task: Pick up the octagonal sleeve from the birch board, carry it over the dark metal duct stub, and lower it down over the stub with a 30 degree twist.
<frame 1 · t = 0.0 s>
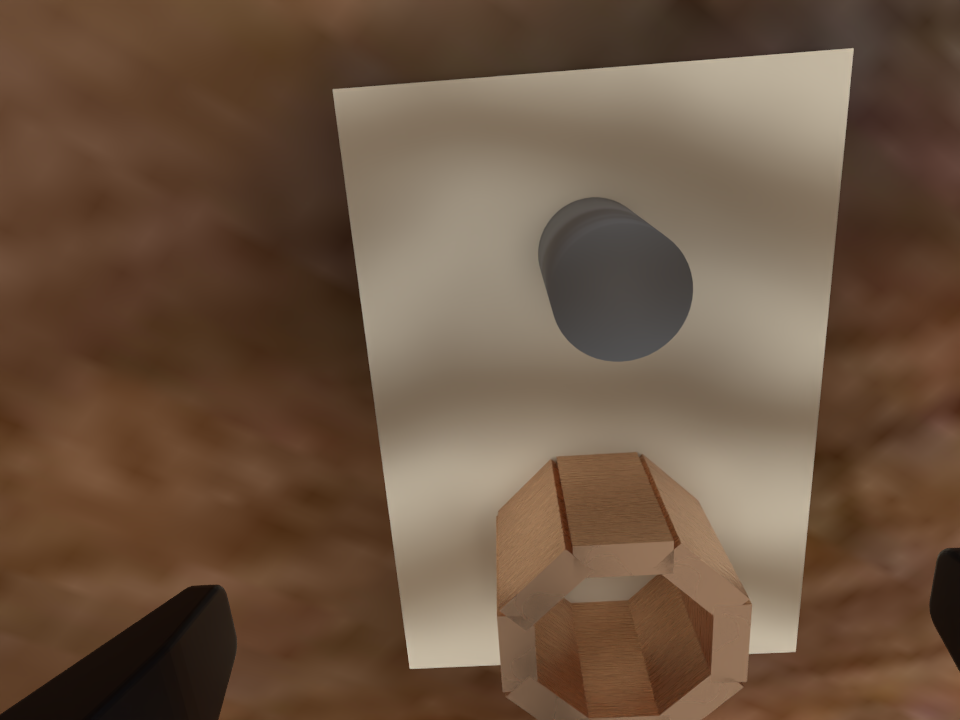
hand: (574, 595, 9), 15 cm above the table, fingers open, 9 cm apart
duct base: (589, 391, 24), on the table
sleeve: (598, 543, 24), point 1 cm above the table, touching duct base
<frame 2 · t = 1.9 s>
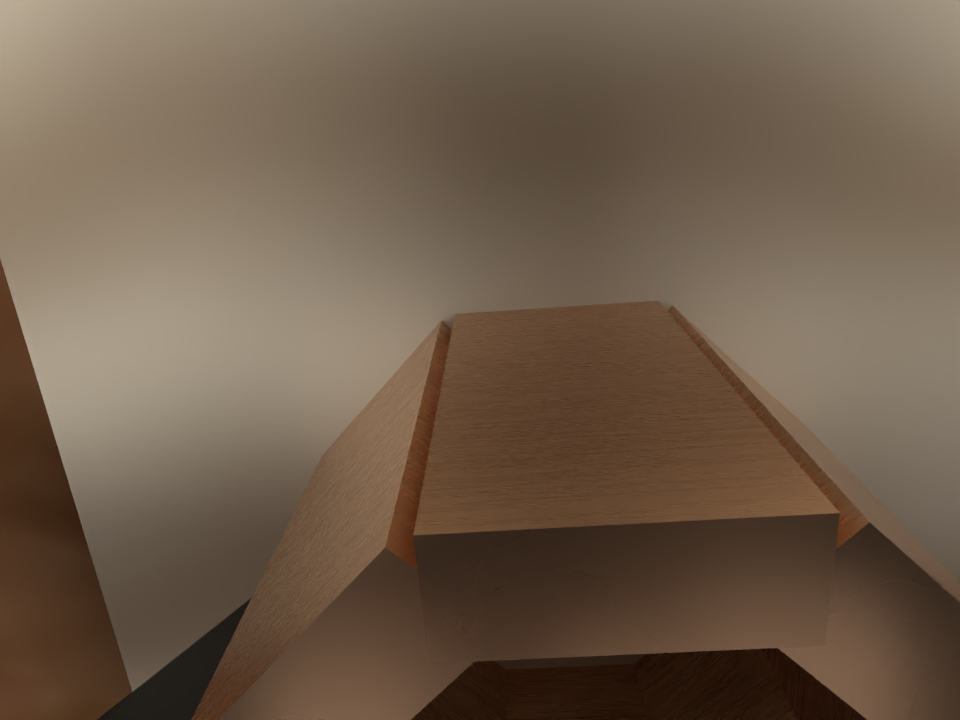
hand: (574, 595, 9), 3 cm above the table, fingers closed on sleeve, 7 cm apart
duct base: (542, 169, 10), on the table
sleeve: (564, 534, 10), point 1 cm above the table, touching duct base, gripper
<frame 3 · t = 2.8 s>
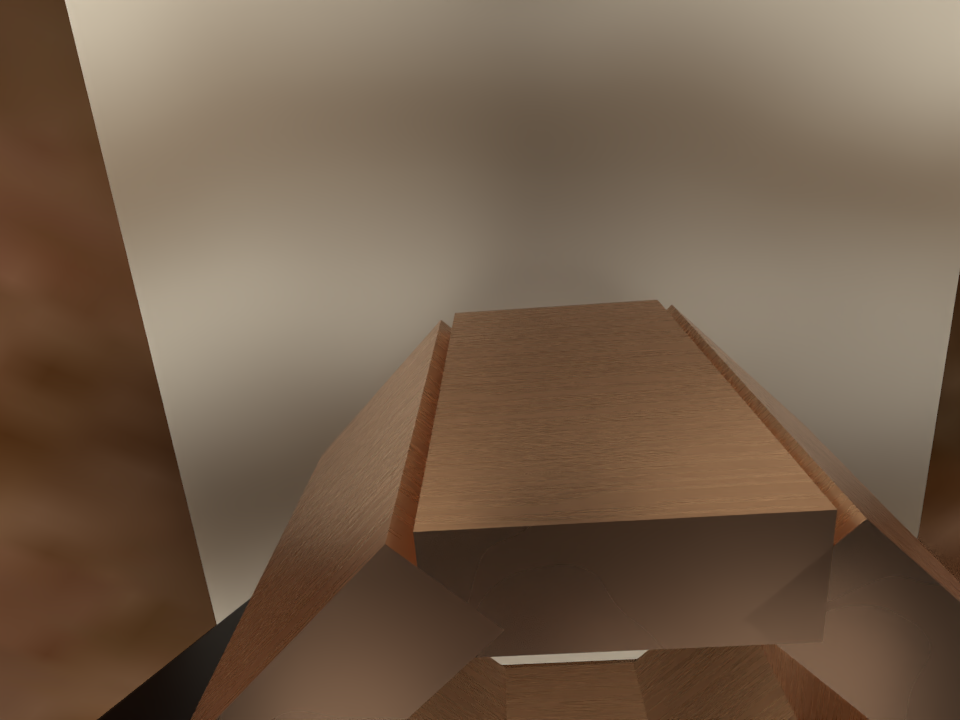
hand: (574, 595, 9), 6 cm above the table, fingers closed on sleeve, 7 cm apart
duct base: (531, 163, 13), on the table
sleeve: (564, 533, 10), point 5 cm above the table, touching gripper
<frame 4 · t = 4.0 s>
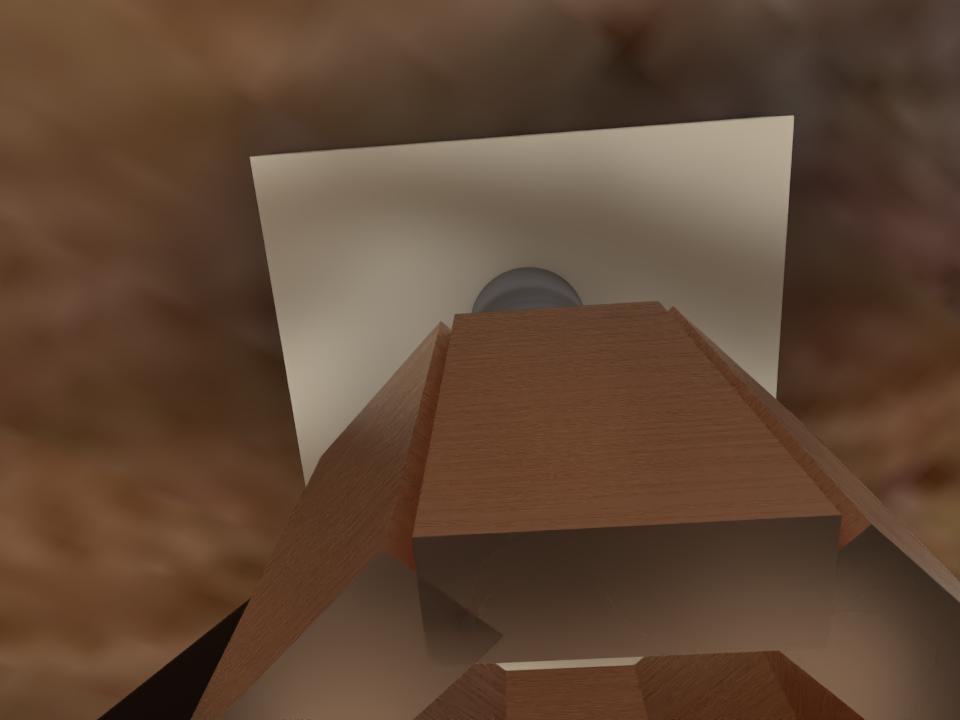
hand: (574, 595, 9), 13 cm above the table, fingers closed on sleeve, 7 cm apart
duct base: (533, 460, 23), on the table
sleeve: (564, 535, 10), point 12 cm above the table, touching gripper
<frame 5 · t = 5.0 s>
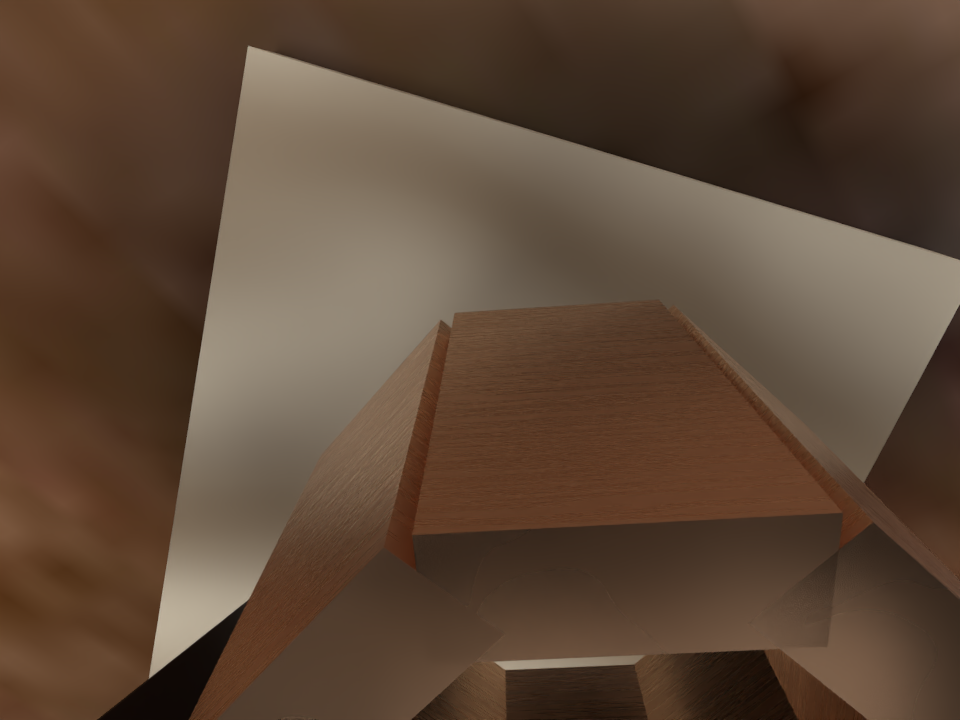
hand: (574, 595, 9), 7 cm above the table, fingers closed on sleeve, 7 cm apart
duct base: (479, 557, 17), on the table
sleeve: (564, 534, 10), point 6 cm above the table, touching gripper
when the fingers open (5 cm above the table, at t = 6.0 s): sleeve drops 2 cm, resting on duct base.
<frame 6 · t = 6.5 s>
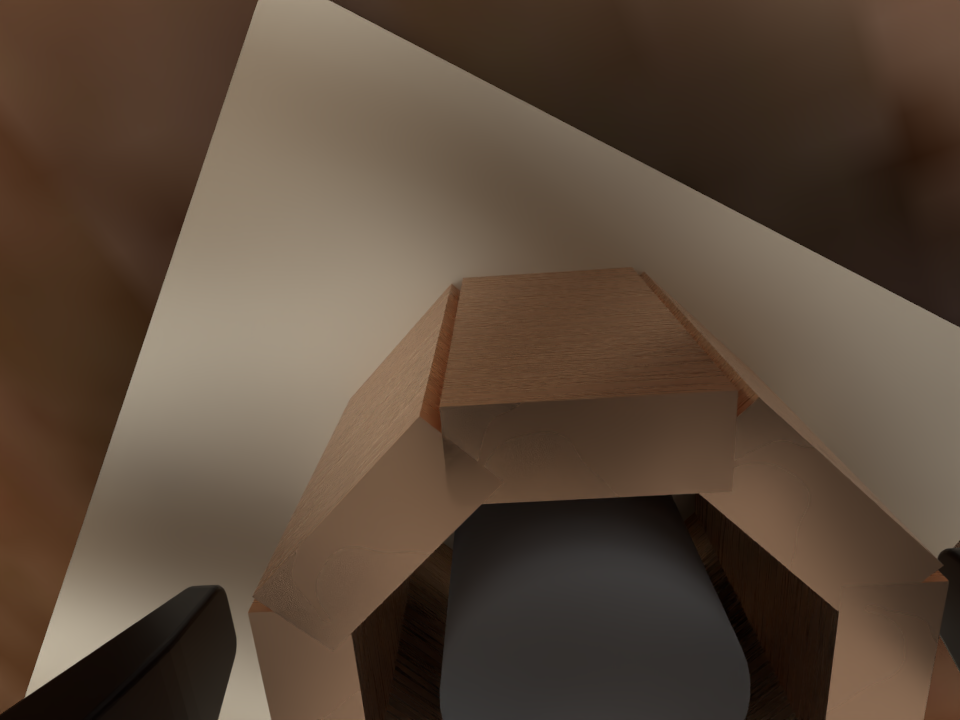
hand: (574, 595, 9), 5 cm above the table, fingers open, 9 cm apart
duct base: (438, 621, 15), on the table
sleeve: (554, 468, 12), point 1 cm above the table, touching duct base
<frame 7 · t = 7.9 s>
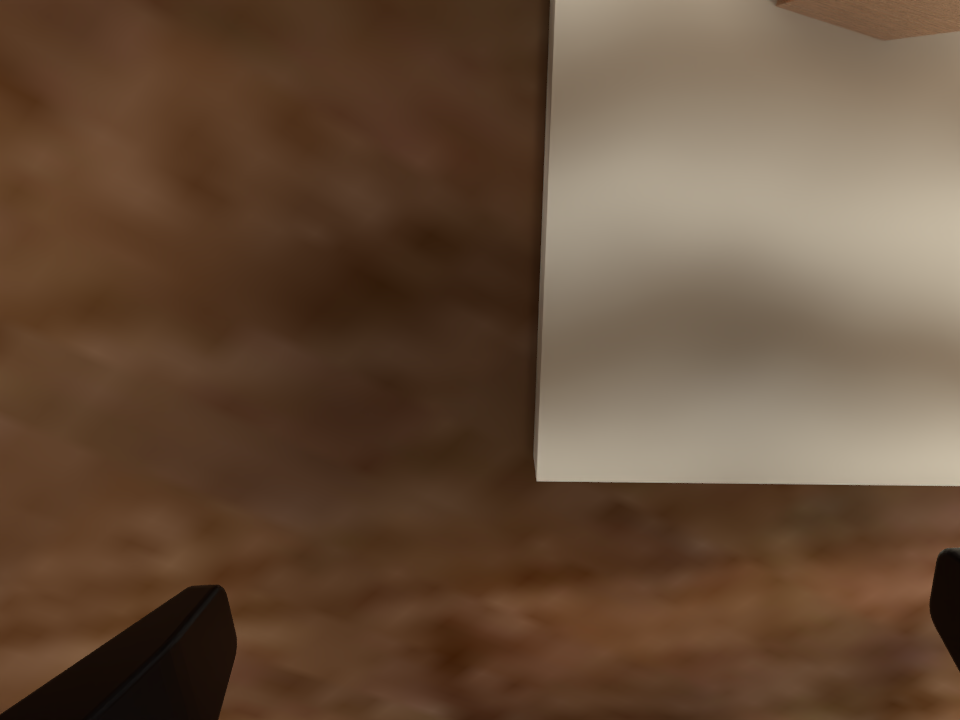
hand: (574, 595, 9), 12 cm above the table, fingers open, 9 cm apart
duct base: (826, 104, 18), on the table
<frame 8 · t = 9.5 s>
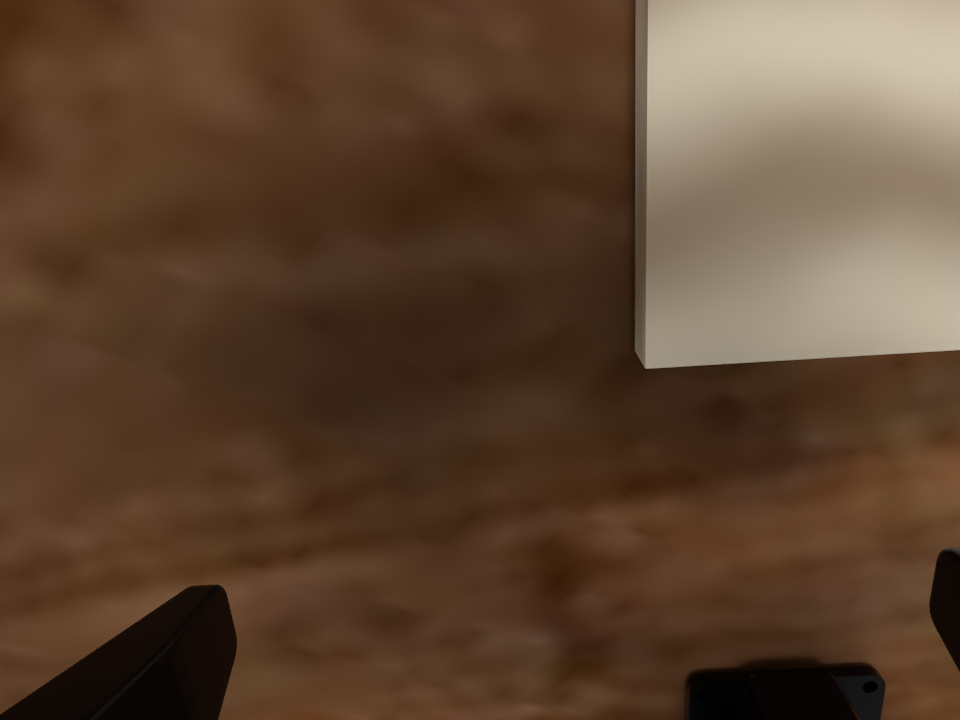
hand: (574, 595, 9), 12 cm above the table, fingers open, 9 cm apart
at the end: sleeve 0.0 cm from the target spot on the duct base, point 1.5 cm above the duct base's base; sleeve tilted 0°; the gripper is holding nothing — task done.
